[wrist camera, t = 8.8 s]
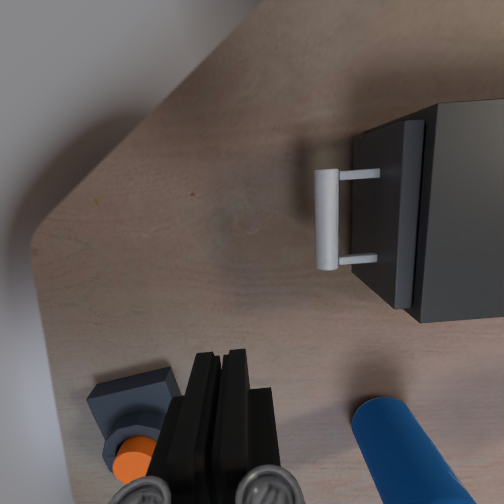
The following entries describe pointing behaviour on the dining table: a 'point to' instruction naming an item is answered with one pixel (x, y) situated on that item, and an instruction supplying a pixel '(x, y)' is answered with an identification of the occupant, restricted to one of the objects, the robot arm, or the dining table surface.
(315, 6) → the dining table surface
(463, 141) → the black cabinet
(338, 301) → the dining table surface
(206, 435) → the robot arm
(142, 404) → the control block
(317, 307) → the dining table surface
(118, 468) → the button
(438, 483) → the beverage can
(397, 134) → the drawer
